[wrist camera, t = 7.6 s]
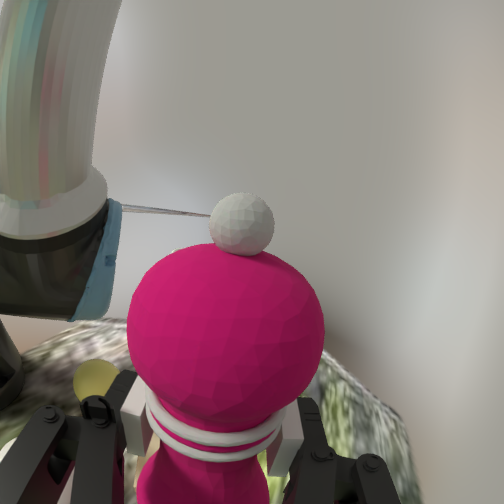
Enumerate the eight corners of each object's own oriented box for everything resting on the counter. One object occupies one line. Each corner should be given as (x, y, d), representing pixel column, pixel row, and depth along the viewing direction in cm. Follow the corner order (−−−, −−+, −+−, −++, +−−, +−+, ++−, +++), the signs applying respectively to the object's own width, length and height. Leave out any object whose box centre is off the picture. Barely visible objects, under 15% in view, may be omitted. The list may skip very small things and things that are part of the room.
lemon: (71, 393, 27) (63, 353, 26) (114, 383, 31) (111, 344, 30) (88, 428, 23) (78, 387, 22) (136, 414, 27) (132, 374, 26)
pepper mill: (124, 533, 10) (49, 176, 5) (174, 469, 17) (192, 179, 12) (233, 579, 9) (414, 246, 4) (266, 502, 15) (368, 212, 10)
